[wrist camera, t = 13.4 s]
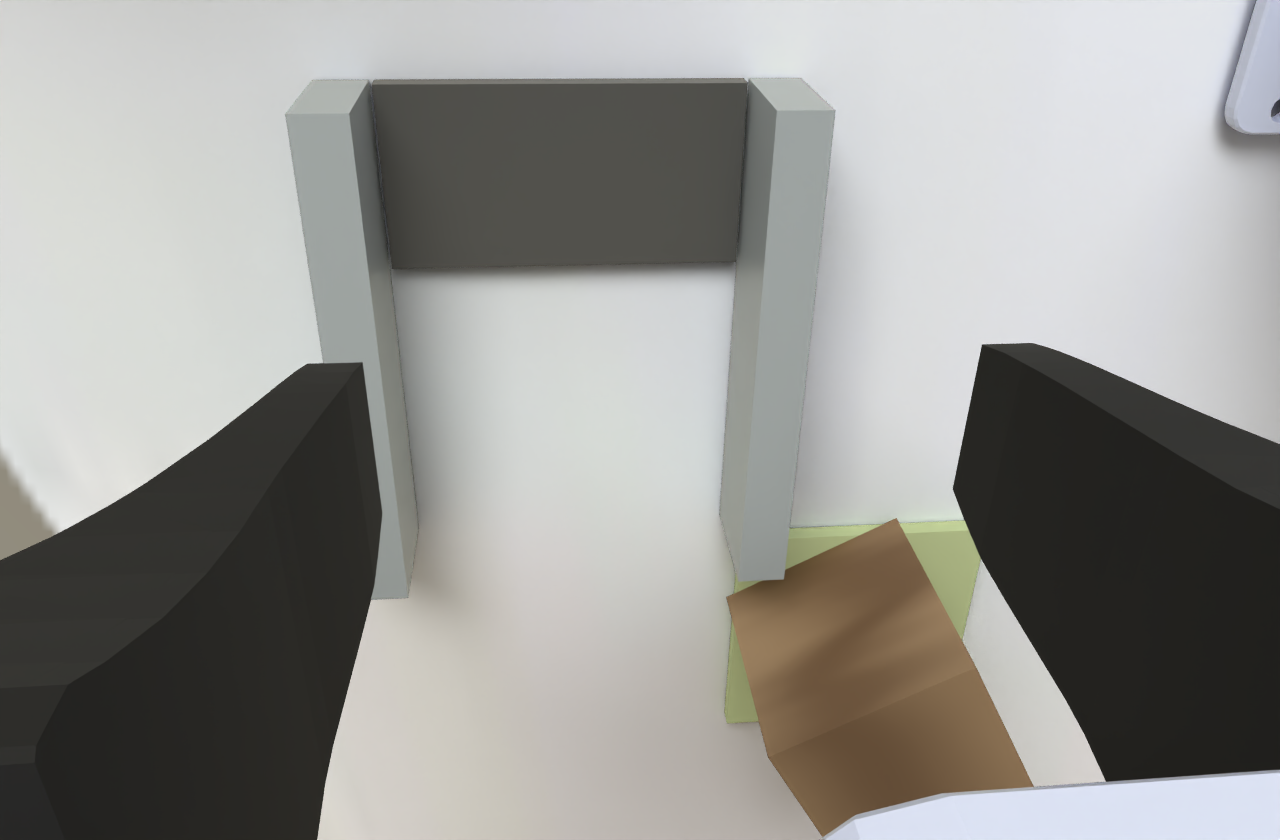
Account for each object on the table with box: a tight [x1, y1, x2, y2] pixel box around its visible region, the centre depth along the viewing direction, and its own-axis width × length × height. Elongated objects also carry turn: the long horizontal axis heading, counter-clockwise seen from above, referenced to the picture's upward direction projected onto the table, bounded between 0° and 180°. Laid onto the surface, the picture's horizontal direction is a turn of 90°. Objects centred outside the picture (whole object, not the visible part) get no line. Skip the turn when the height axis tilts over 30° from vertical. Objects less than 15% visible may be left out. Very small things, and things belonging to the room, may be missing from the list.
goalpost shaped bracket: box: [285, 78, 835, 600], centre depth 21 cm, size 9×10×2 cm
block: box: [726, 518, 1034, 837], centre depth 24 cm, size 4×4×5 cm
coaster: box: [724, 521, 981, 723], centre depth 26 cm, size 6×6×1 cm
